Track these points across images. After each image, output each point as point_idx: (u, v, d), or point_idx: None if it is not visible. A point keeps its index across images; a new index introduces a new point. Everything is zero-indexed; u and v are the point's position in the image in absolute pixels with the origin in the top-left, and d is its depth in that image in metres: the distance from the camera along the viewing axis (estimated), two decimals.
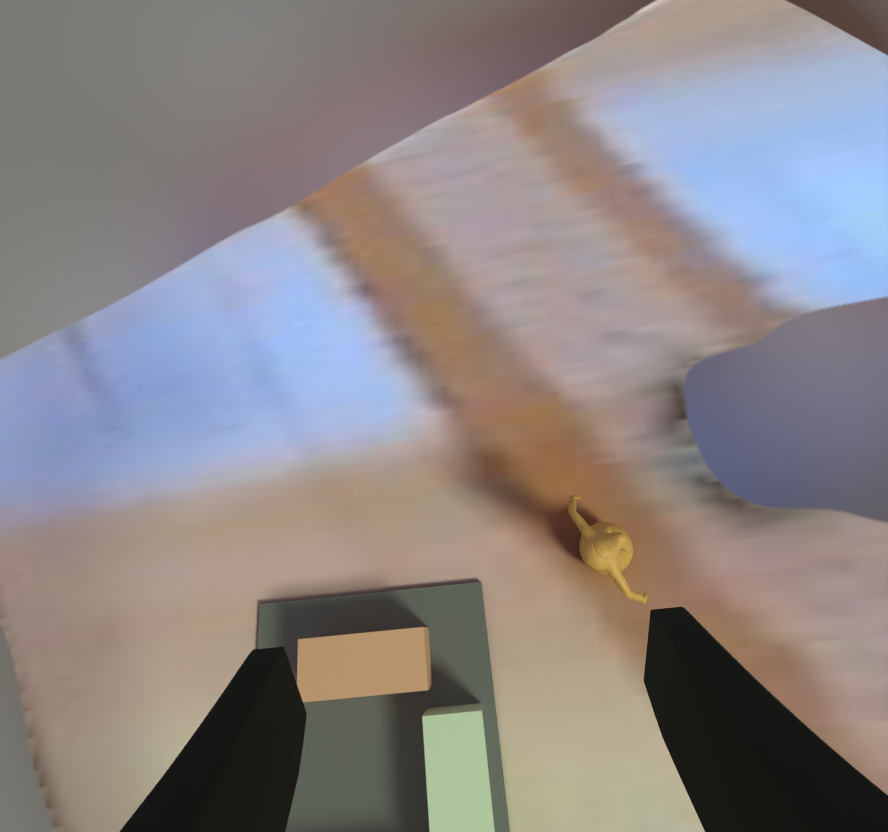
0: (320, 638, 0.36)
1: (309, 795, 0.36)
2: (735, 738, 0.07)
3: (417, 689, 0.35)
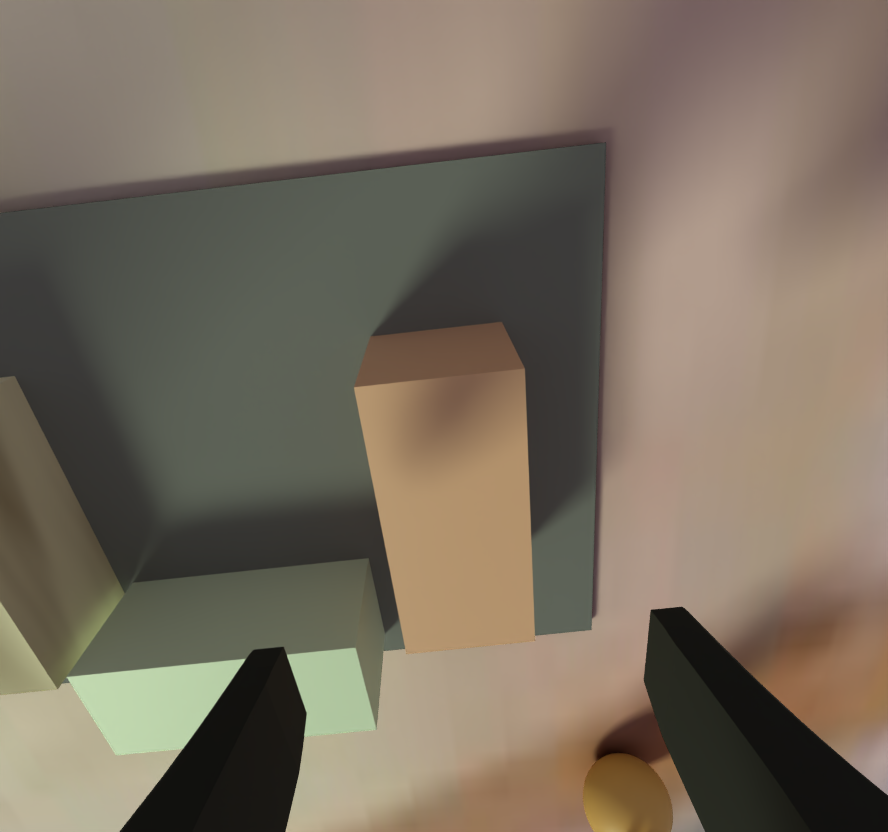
0: (523, 430, 0.13)
1: (167, 350, 0.16)
2: (735, 738, 0.07)
3: (406, 637, 0.16)
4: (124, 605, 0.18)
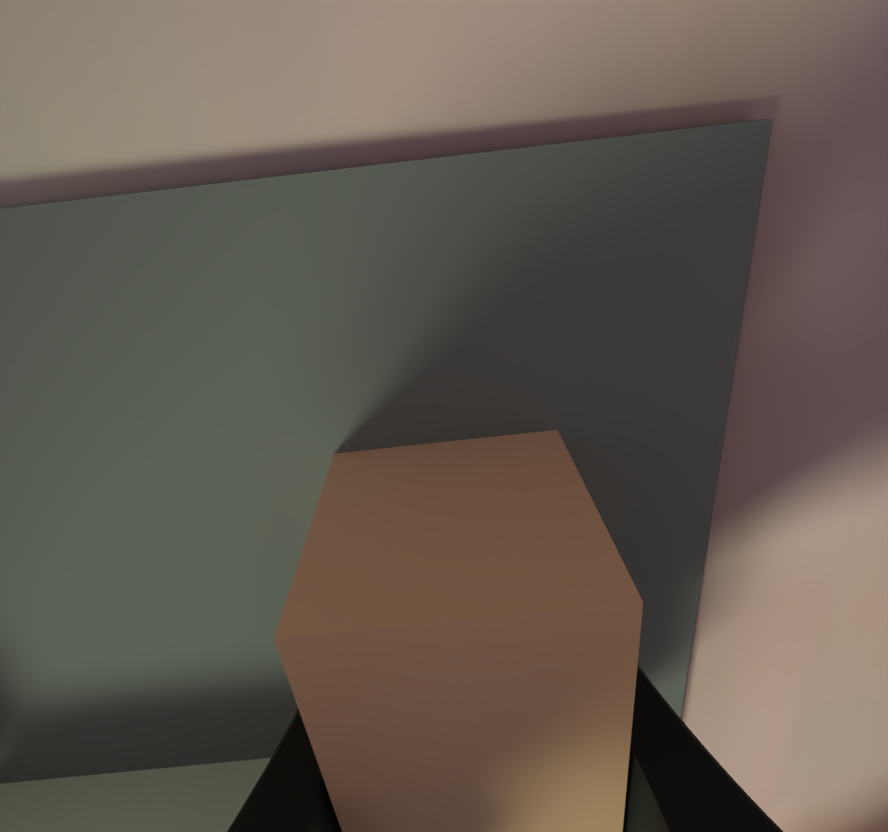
0: (626, 701, 0.06)
1: None
2: None
3: None
4: None
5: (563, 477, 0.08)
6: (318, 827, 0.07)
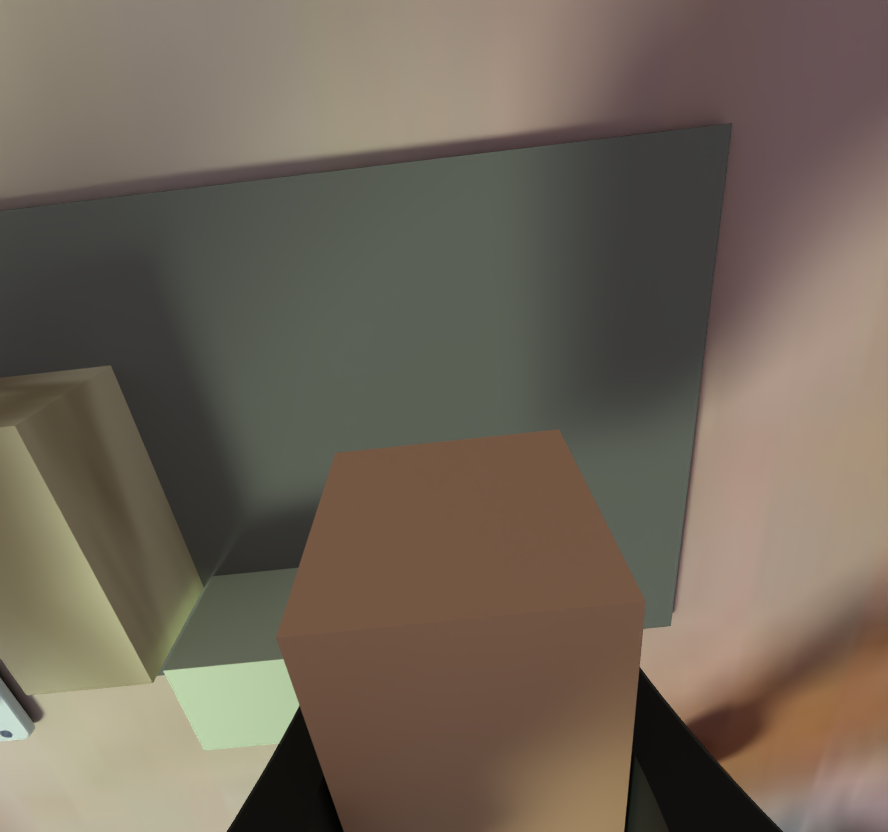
0: (628, 700, 0.06)
1: (266, 339, 0.15)
2: None
3: None
4: (209, 599, 0.18)
5: (565, 476, 0.08)
6: (318, 827, 0.07)
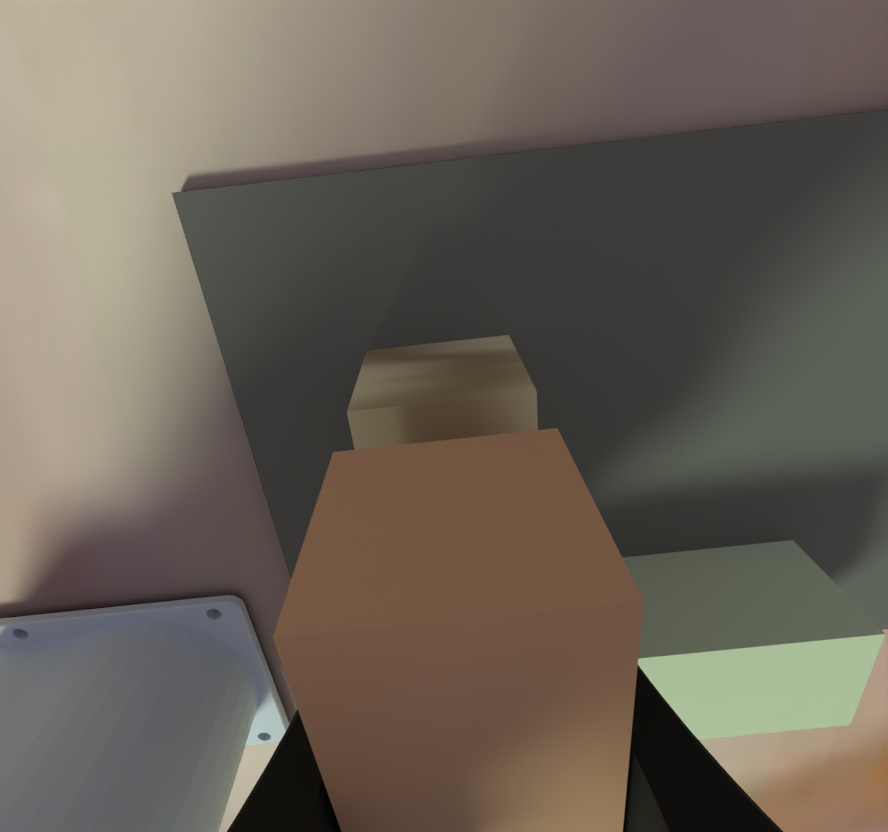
0: (626, 700, 0.06)
1: (683, 306, 0.14)
2: None
3: None
4: None
5: (563, 475, 0.08)
6: (318, 828, 0.07)
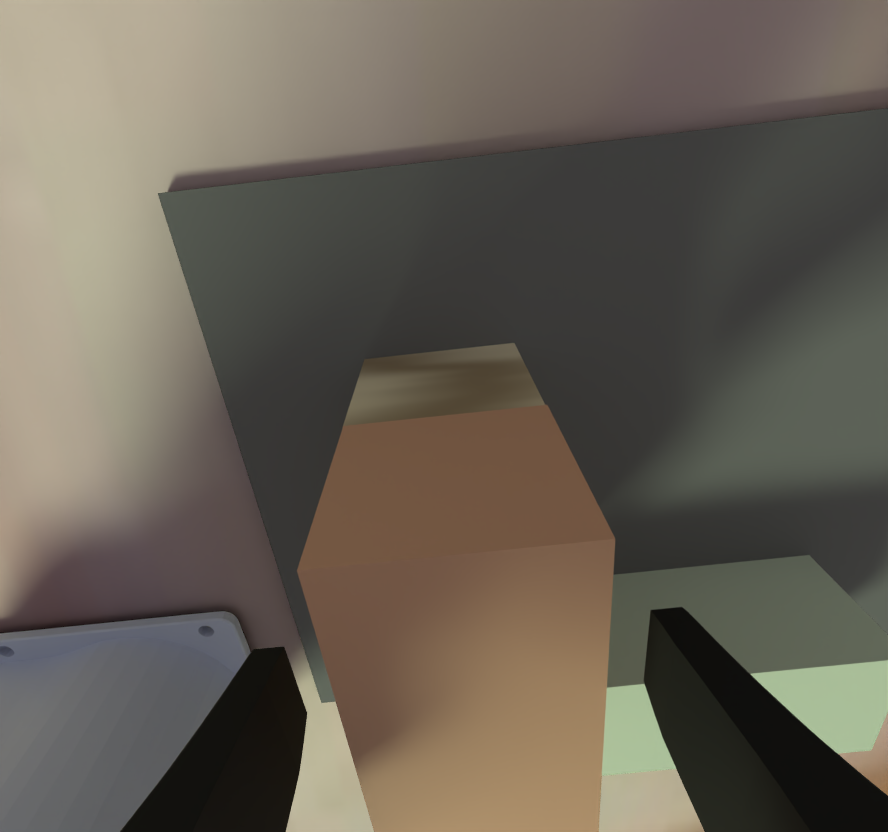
0: (603, 632, 0.07)
1: (698, 313, 0.13)
2: (735, 738, 0.07)
3: None
4: None
5: (551, 443, 0.09)
6: None
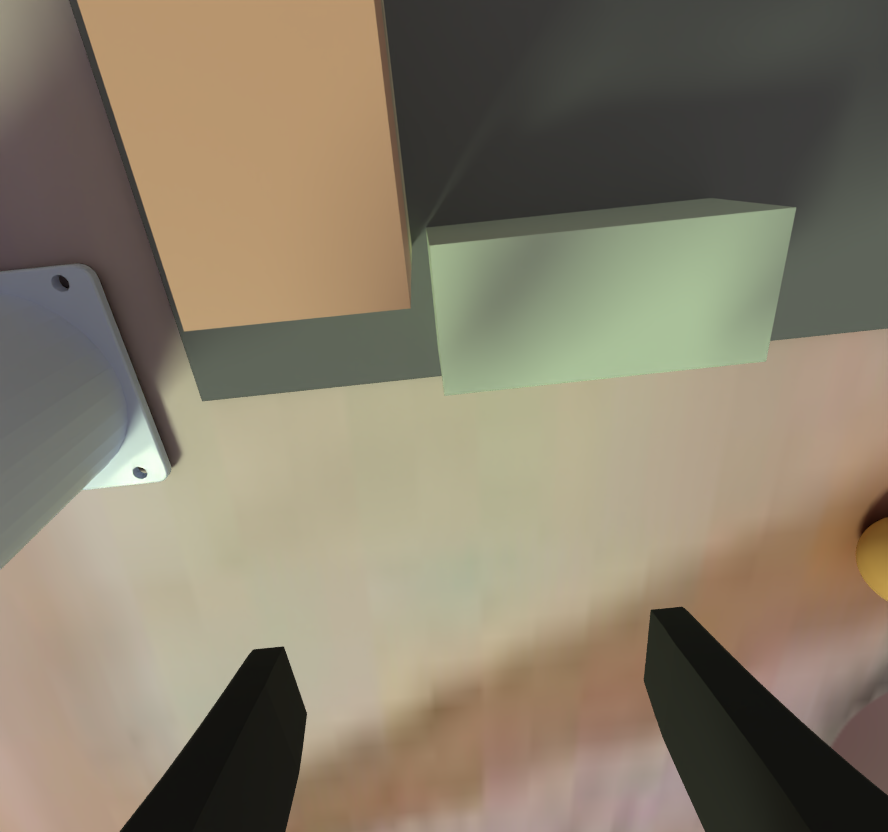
0: None
1: None
2: (735, 738, 0.07)
3: (177, 291, 0.09)
4: (437, 230, 0.15)
5: None
6: None
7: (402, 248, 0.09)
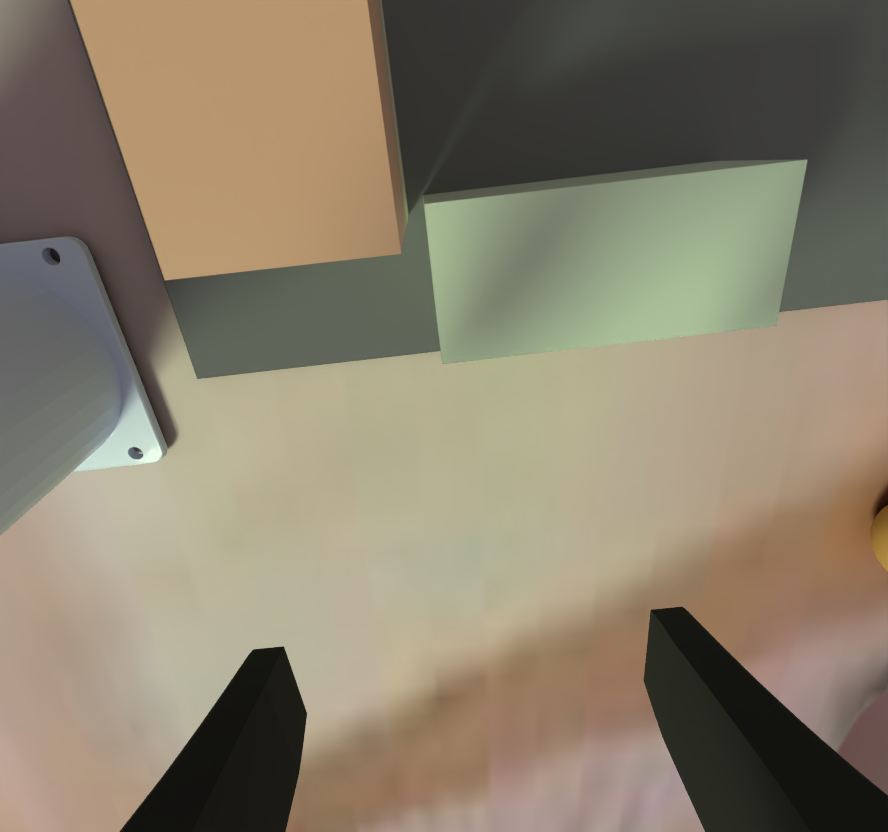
0: None
1: None
2: (735, 738, 0.07)
3: (156, 236, 0.08)
4: (433, 196, 0.15)
5: None
6: None
7: (391, 187, 0.08)
